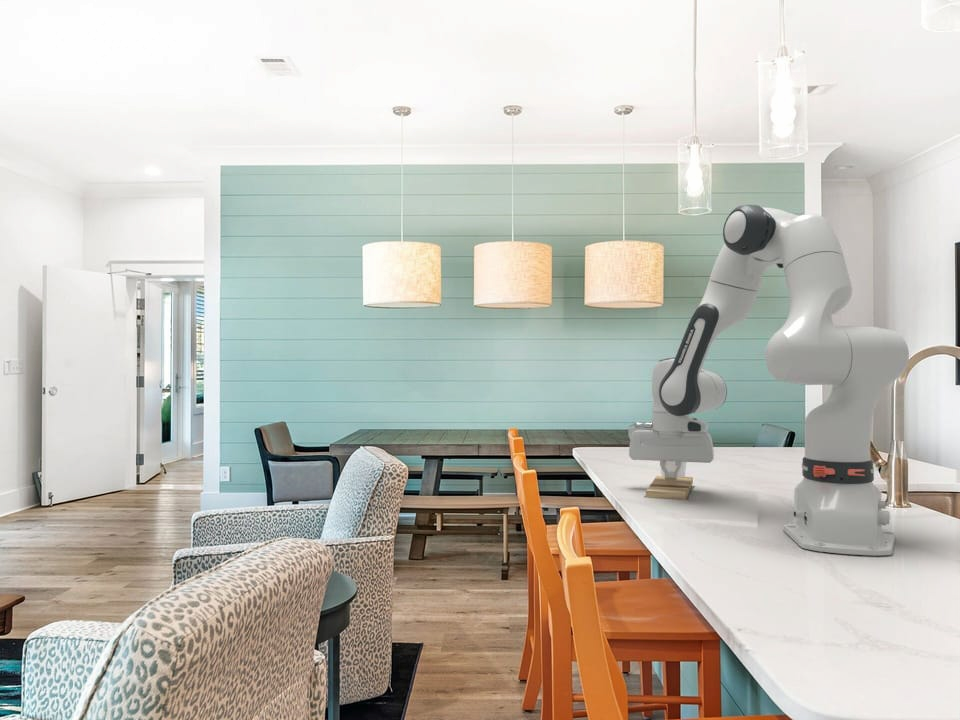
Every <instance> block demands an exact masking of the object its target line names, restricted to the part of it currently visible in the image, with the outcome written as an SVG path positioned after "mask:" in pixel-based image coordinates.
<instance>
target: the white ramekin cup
mask: <svg viewBox="0 0 960 720" xmlns="http://www.w3.org/2000/svg"><path fill="white" fill-rule="evenodd" d="M665 467H666V468H667V470H668V472H675V470H676V468H677V467H678V466H675V461H667V464H666V465H665ZM686 469H687V462H682V466H681V468H680V469H679V471H678V472H677V477H686ZM660 471H661V472H660V473H661V475H660V476H665V472H664V471H663V470H662V468H661V467H660Z"/></svg>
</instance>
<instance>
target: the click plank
mask: <svg viewBox="0 0 960 720" xmlns="http://www.w3.org/2000/svg"><path fill="white" fill-rule="evenodd" d="M693 479H694V478H693V477H692V476H691V477H690V476H685V477H677V480H667V479H665V476H662V475H656V476H655V478H654V479H653V481H652V482H651V483H650V484H649V486H650V485H657V486H677V487H688V494H689V491H690V489H691V486H693V483H694V480H693Z"/></svg>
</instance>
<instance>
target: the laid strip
mask: <svg viewBox="0 0 960 720" xmlns="http://www.w3.org/2000/svg"><path fill="white" fill-rule="evenodd" d="M645 495H646V497H650V498H649V499H664V498H667V500H681V499H685V500H684V501H687V500H686V498H687V496H688V487H677V486H657V485H650V484H649V486H648V488H647V489H646V490H645ZM646 497H645V498H646Z"/></svg>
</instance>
